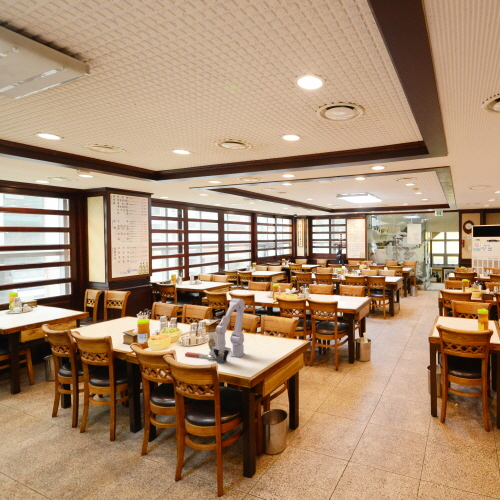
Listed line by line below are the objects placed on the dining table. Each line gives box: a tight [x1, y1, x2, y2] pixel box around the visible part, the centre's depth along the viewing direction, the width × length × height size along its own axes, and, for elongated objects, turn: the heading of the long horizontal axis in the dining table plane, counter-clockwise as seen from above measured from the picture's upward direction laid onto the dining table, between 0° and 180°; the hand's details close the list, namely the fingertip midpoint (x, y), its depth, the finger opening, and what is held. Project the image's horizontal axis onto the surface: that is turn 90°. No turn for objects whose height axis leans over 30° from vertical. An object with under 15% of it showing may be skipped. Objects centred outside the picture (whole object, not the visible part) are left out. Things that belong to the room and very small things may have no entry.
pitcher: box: [205, 331, 227, 351], centre depth 281 cm, size 11×18×14 cm, turn 66°
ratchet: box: [184, 350, 216, 361], centre depth 264 cm, size 27×8×6 cm, turn 67°
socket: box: [215, 353, 228, 364], centre depth 253 cm, size 6×6×5 cm
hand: (221, 360), depth 253 cm, fingers closed on socket, 6 cm apart
